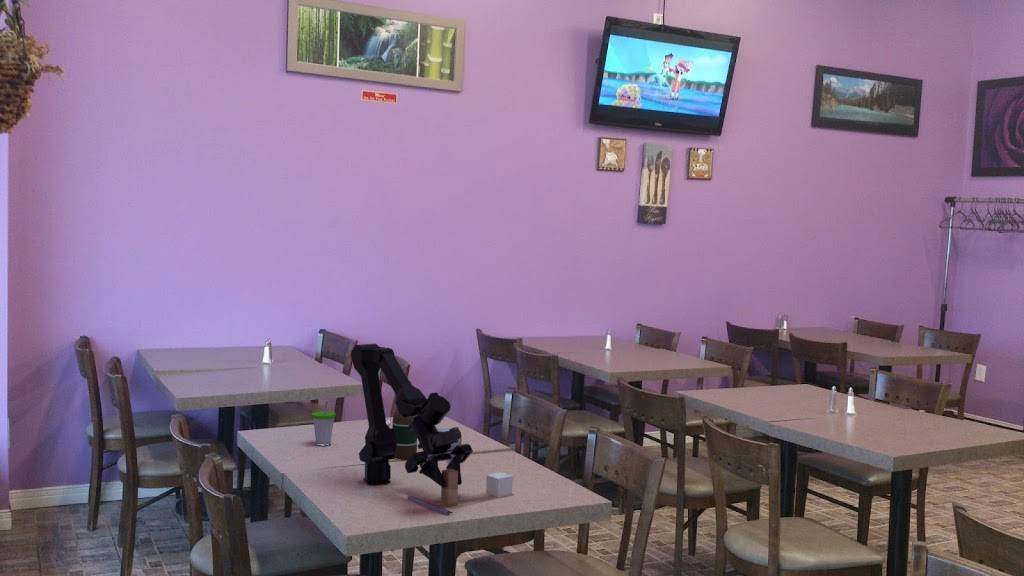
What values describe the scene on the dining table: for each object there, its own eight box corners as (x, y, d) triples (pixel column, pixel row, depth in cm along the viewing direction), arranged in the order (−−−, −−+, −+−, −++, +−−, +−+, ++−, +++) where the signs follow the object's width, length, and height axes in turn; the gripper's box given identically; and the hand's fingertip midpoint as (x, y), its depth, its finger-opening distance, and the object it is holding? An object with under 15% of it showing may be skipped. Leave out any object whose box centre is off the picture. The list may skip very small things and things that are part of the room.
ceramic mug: (462, 452, 308) (463, 428, 307) (438, 454, 305) (439, 430, 304) (451, 445, 318) (451, 422, 317) (427, 447, 314) (428, 424, 314)
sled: (435, 507, 248) (436, 469, 247) (500, 492, 262) (500, 457, 261) (450, 513, 243) (451, 474, 242) (514, 498, 258) (515, 461, 257)
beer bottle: (406, 461, 294) (407, 384, 293) (386, 457, 299) (387, 381, 297) (421, 456, 301) (423, 381, 299) (402, 452, 305) (403, 378, 303)
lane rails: (407, 499, 254) (407, 496, 254) (479, 484, 271) (479, 480, 271) (446, 515, 242) (446, 511, 242) (520, 498, 258) (520, 494, 258)
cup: (316, 441, 318) (316, 396, 317) (338, 442, 317) (339, 397, 316) (307, 446, 310) (308, 401, 309) (331, 448, 309) (331, 402, 308)
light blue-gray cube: (486, 493, 258) (486, 475, 258) (500, 490, 261) (500, 472, 261) (498, 497, 254) (498, 479, 254) (512, 494, 258) (512, 476, 257)
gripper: (412, 422, 242) (437, 474, 234) (469, 413, 254) (495, 463, 247) (393, 446, 248) (418, 498, 241) (450, 437, 261) (475, 486, 253)
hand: (452, 485), depth 245 cm, fingers open, 5 cm apart
